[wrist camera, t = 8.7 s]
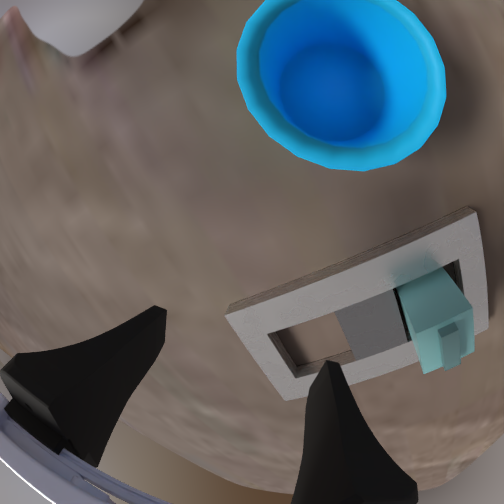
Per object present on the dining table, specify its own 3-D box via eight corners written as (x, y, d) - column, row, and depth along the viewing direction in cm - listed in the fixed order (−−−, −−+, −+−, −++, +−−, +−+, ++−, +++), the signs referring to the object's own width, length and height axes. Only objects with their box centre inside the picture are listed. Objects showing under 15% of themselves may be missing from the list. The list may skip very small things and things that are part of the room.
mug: (381, 168, 17) (427, 194, 10) (258, 142, 18) (222, 149, 11) (401, 9, 12) (443, -43, 5) (283, -15, 13) (263, -82, 6)
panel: (466, 206, 16) (476, 211, 15) (482, 318, 19) (488, 328, 18) (229, 304, 23) (224, 315, 22) (286, 389, 26) (285, 400, 25)
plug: (439, 264, 18) (478, 314, 12) (447, 304, 20) (478, 358, 13) (394, 284, 20) (419, 342, 14) (405, 322, 21) (426, 382, 15)
